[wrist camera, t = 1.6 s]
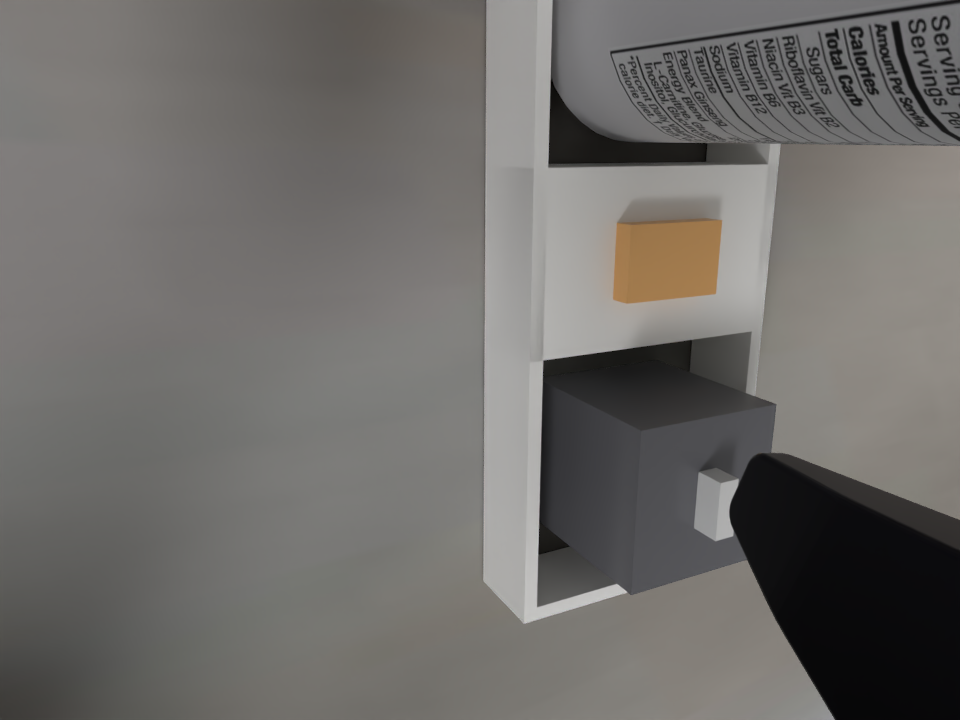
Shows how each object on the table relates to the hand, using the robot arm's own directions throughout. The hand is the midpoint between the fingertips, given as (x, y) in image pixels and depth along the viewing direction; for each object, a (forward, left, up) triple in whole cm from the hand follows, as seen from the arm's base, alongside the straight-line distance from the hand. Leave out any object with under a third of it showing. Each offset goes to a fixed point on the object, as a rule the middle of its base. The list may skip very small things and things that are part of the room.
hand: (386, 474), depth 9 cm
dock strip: (0, -11, -12) cm, 16 cm away
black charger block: (-6, -11, -12) cm, 17 cm away
